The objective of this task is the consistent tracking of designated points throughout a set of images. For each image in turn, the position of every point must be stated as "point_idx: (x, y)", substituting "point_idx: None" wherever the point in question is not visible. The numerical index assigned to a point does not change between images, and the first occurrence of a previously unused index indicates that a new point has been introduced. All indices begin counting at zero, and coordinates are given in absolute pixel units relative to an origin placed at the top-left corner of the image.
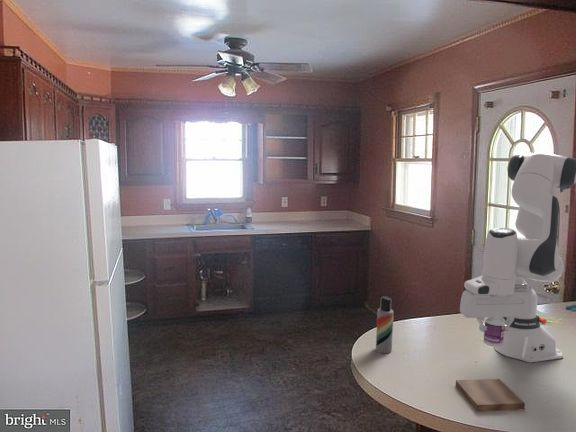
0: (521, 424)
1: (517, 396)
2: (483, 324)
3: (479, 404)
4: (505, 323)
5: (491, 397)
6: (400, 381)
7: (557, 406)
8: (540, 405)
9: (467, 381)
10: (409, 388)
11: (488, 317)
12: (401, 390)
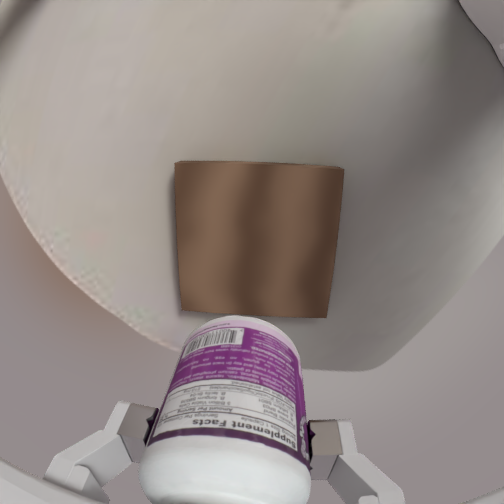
0: None
1: (330, 284)
2: (118, 470)
3: (187, 308)
4: (336, 467)
5: (243, 280)
6: (40, 130)
7: (418, 300)
8: (382, 293)
9: (212, 174)
10: (51, 169)
11: (160, 498)
12: (33, 180)
